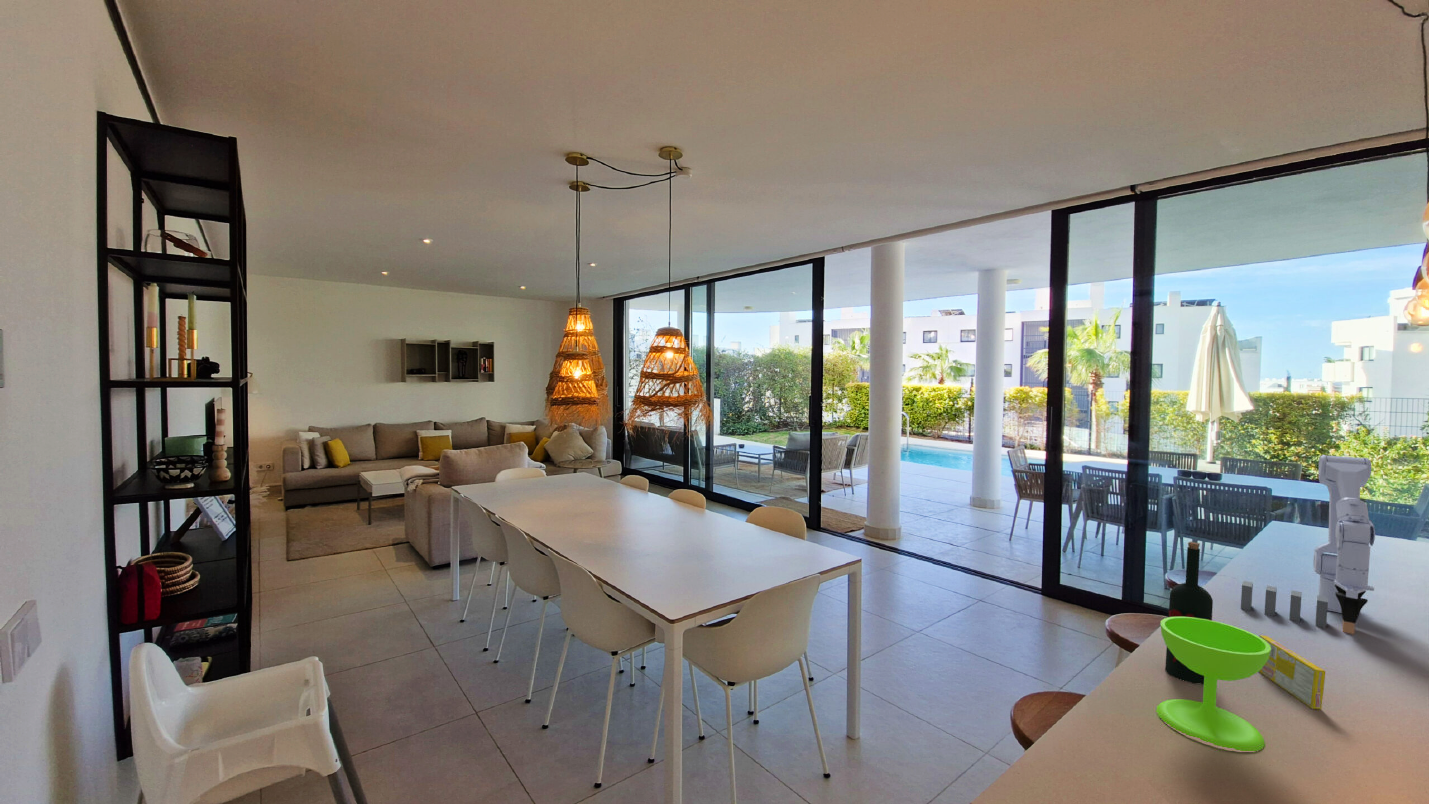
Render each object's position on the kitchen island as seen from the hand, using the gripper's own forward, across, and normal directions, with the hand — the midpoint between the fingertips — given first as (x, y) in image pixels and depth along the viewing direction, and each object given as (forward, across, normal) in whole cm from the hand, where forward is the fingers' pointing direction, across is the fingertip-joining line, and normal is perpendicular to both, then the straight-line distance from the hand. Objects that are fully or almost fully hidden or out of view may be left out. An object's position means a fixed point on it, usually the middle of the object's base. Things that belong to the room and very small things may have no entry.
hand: (1348, 617), depth 154 cm
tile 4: (+3, 0, +15) cm, 15 cm away
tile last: (+3, 0, +20) cm, 20 cm away
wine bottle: (+3, -62, +26) cm, 67 cm away
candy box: (+4, -52, +10) cm, 53 cm away
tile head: (+3, 0, 0) cm, 3 cm away
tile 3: (+3, 0, +10) cm, 11 cm away
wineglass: (+3, -82, +20) cm, 85 cm away
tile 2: (+3, 0, +5) cm, 6 cm away
